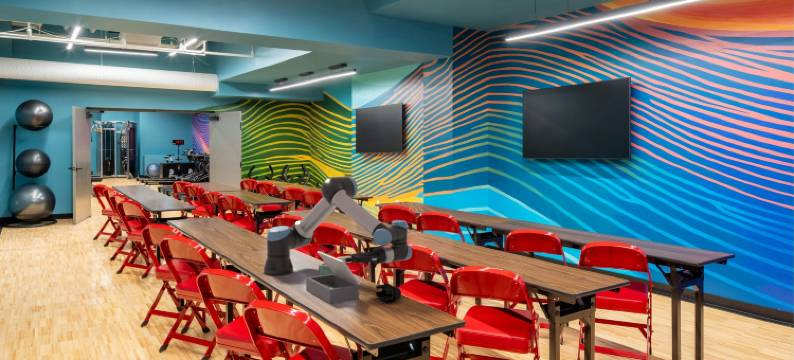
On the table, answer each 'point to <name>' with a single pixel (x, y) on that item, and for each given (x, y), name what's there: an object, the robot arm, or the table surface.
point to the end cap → (388, 293)
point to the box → (326, 270)
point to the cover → (338, 267)
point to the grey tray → (332, 288)
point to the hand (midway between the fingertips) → (337, 260)
